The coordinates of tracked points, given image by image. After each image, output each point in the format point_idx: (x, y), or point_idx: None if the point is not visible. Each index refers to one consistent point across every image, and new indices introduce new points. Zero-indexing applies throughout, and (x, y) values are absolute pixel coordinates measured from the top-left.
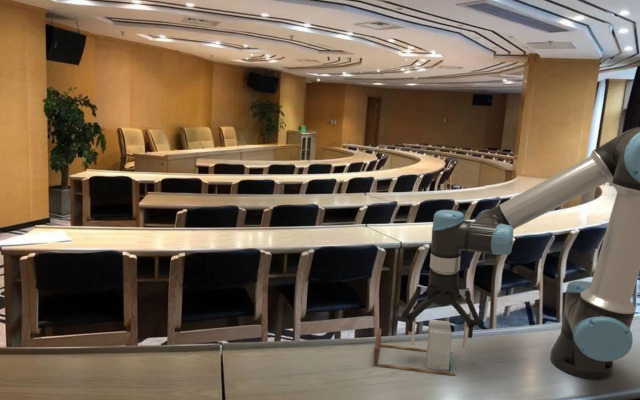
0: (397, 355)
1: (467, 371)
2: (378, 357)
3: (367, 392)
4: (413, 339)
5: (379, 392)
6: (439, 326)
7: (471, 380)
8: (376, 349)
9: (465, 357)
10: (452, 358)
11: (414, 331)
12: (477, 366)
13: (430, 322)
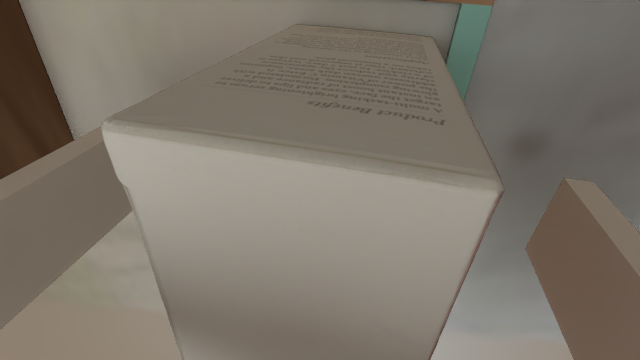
0: (132, 68)
1: (507, 199)
2: (57, 123)
3: (124, 301)
4: (126, 208)
5: (153, 303)
6: (274, 341)
7: (490, 264)
8: None
9: (593, 25)
10: (465, 78)
11: (73, 260)
12: (614, 146)
13: (144, 227)
